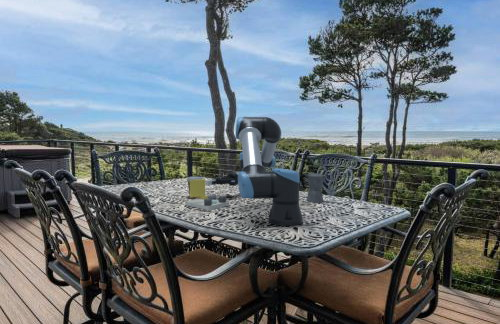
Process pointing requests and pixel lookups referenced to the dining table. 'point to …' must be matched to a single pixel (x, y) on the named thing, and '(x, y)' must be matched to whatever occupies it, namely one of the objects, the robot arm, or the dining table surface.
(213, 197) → the yellow flat slab
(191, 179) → the disposable coffee cup
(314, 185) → the coffeepot
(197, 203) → the base
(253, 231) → the dining table surface
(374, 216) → the dining table surface
